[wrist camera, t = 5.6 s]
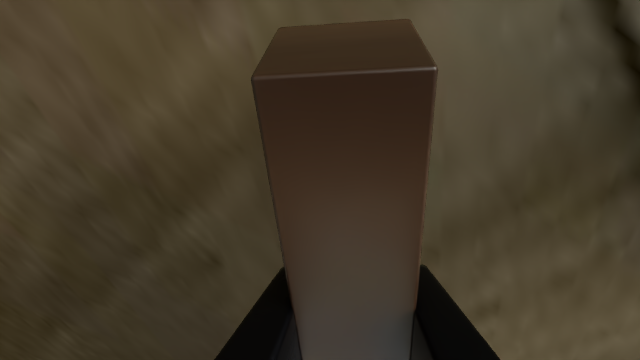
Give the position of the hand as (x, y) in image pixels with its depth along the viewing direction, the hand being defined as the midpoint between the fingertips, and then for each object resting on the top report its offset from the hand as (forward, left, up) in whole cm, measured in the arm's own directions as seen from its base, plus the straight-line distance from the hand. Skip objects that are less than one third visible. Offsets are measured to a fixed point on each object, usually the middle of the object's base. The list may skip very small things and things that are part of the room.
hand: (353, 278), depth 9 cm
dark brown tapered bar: (0, +3, -1) cm, 3 cm away
